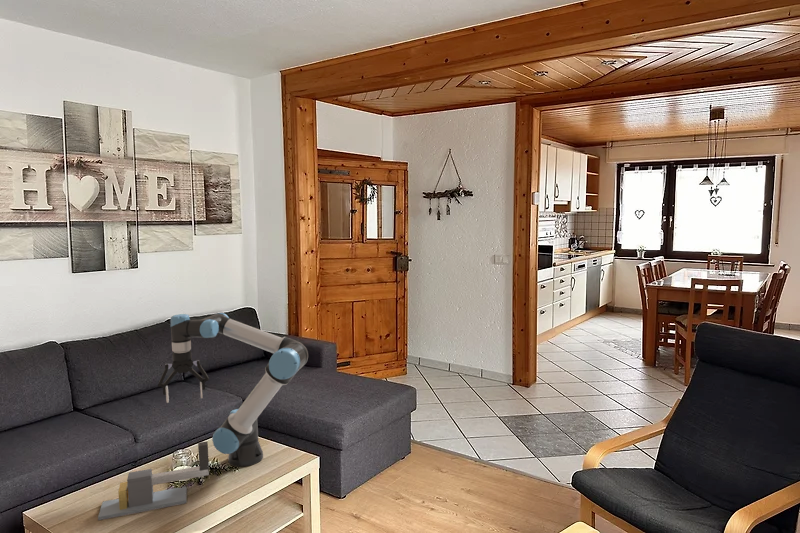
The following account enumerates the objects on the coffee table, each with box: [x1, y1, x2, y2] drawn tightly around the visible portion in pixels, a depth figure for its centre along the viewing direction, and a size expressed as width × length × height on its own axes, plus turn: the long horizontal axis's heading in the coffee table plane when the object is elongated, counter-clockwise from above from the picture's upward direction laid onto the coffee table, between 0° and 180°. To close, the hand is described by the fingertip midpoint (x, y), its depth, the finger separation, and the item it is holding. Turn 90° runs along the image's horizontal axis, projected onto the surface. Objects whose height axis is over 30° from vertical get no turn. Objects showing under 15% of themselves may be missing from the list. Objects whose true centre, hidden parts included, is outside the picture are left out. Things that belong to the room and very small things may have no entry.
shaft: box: [151, 441, 210, 486], centre depth 212 cm, size 26×4×12 cm, turn 111°
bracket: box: [97, 468, 188, 521], centre depth 209 cm, size 30×12×12 cm, turn 111°
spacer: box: [117, 481, 129, 510], centre depth 207 cm, size 2×7×7 cm, turn 21°
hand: (184, 399), depth 234 cm, fingers open, 13 cm apart
